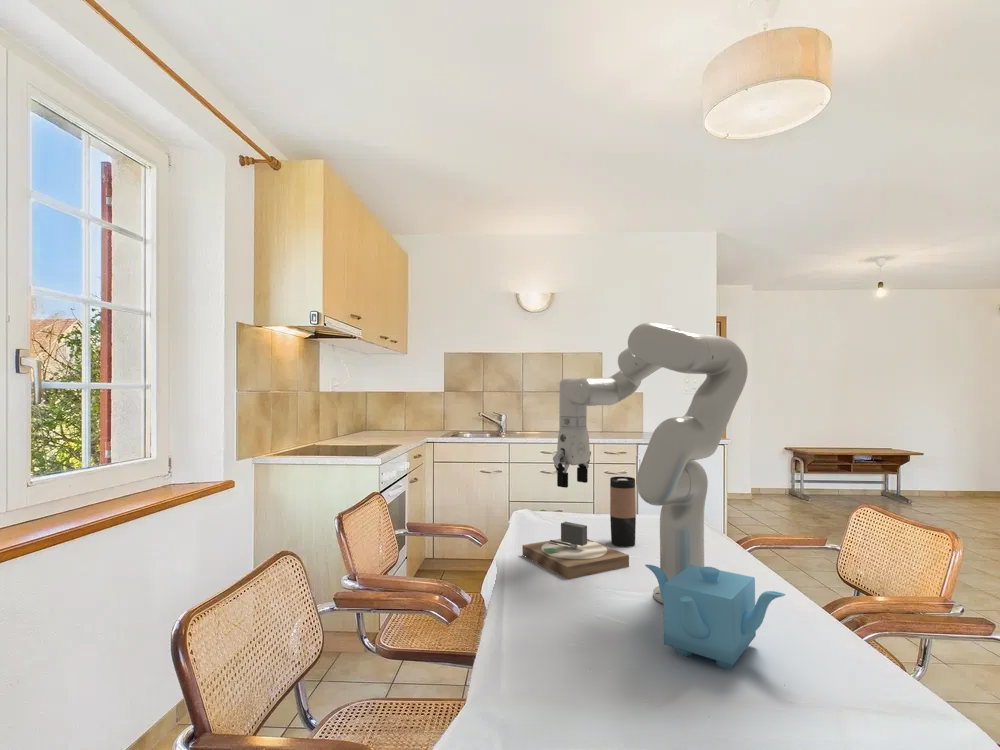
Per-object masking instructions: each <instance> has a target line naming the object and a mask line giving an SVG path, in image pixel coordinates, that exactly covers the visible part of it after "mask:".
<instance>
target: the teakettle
mask: <svg viewBox="0 0 1000 750" xmlns="http://www.w3.org/2000/svg"><path fill="white" fill-rule="evenodd" d="M644 566H645V567H646V568H647V569H649V570H650V571H651V572H652V573H653V574H654V576H655V578H656V579H657V583H658V586H659V587H660V592H661V596H662V600H663V603H662V605H663V607H662V608H663V644H664V645H666V646H668V647H672V648H674V649H675V653H677V655H681V656H685V657H686V656H692V655H693V654H694V655H698V656H702V657H704V658H707V659H711V660H714V661H715V664H716V665H717V666H718V667H720V668H722V669H729V670H731V669H733V668H735V664H736V662H737V661H738V660H739V659H740V657H741V656H742V655H743V653H745V652H747V648H748V647H749V645H750V644H751V643H752V642H753V640H754V639H755V638H756V635H757V631H758V629H759V628H760V627H761V626H762V624H763V622H764V619H765V617H766V613H767V610H768V608H769V605H770V604H771V602H772V601H773V600H776V599H777V598H781V597H785V596H786V593H783V592H779V591H775V590H766V591H763V592H762V593H761V594H760V595H759V596H758V598H757V599H756V577H754V576H750V575H745V574H740V573H734V572H730V571H726V570H720V569H719V568H717V567H712V566H704V567H701V566H696V565H690V566H689V567H687V568H686V569H684V570H683V571H681V572H680V573H678V574H677V575H675V576H674V577H673V578H671V579H670V580H668V578H667V576H666V574H665V573H664V571H663V570H662V569H661V568H660V566H657V565H653V564H645V565H644ZM756 600H757V601H756Z"/></svg>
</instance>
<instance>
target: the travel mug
mask: <svg viewBox="0 0 1000 750" xmlns="http://www.w3.org/2000/svg"><path fill="white" fill-rule="evenodd" d="M609 481H610V482H609V487H610V488H609V489H610V491H609V493H610V495H609V498H610V500H609V504H610V505H609V509H610V510H609V513H610V514H609V515H610V517H609V519H610V520H609V521H610V542H611V545H613V546H615V547H618V548H619V547H621V548H631V547H635V546H636V524H637V521H636V520H637V519H636V517H637V515H636V514H637V513H636V511H637V510H636V504H637V503H636V502H637V501H636V478H634V477H631V476H612V477H610V479H609Z"/></svg>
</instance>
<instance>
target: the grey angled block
mask: <svg viewBox="0 0 1000 750" xmlns="http://www.w3.org/2000/svg"><path fill="white" fill-rule="evenodd" d="M560 539H561V541H562V542H559V541H554V540H555V539H550V540H549V541H550V542H554V543H558V544H563V545H567V546H570V547H571V548H577V547H578V545H580V546H584V545H586V544H587V539H588V525H584V524H580V523H576V522H575V523H574V522H570V521H564V522H561V523H560ZM563 542H566V543H563ZM568 543H570V544H568Z"/></svg>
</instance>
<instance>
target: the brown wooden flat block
mask: <svg viewBox="0 0 1000 750" xmlns="http://www.w3.org/2000/svg"><path fill="white" fill-rule="evenodd" d="M553 540H554V541H559V542H562V541H561V538H558V539H557V538H556V539H553ZM563 543H566V542H563ZM568 544H570V543H568ZM523 555H524V556H526V557H527V558H526V557H525V558H526V559H528V558H529V560H530V559H531V560H530V561H532V560H533V561H532V562H534V563H536V564H538V565H540V566H542V567H543V568H546V569H548V570H549V571H552V572H553V573H555V574H557V575H559V576H561V577H563V578H565V579H566V580H571V579H575V578H581V577H585V576H591V575H595V574H599V573H604V572H608V571H614V570H619V569H623V568H629V567H630V555H629V554H627V553H624V552H622V551H619V550H616V549H614V548H612V547H609V546H606V545H604V544H601V543H599V542H595V541H593V540H591V539H588V538H587V544H586V545H584V546H580V545H578V547H577V548H571V547H570V546H567V545H563V544H558V543H554V542H550V540H547V541H540V542H539V541H538V542H534V543H527V544H523V545H522V556H523ZM524 556H523V557H524Z"/></svg>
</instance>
